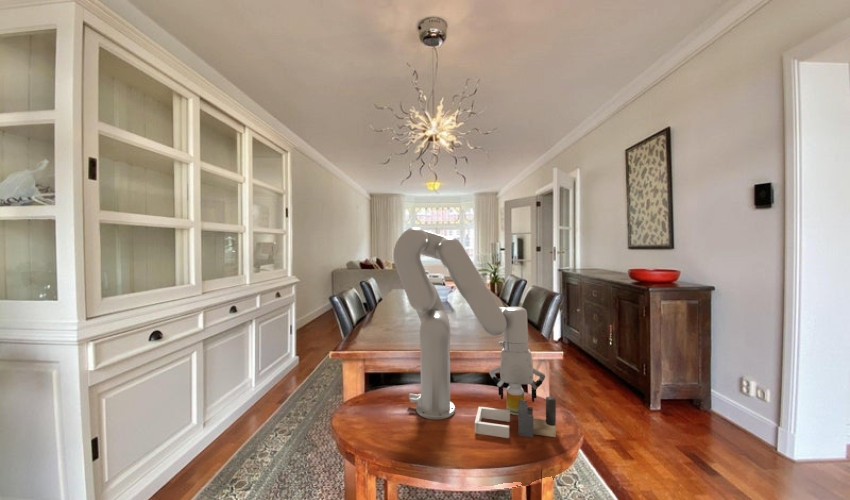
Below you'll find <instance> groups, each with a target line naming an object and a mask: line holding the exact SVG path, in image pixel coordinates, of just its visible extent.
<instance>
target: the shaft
mask: <svg viewBox="0 0 850 500" xmlns="http://www.w3.org/2000/svg"><path fill="white" fill-rule="evenodd" d="M556 400H557V399H556V398H555V397H553V396H546V397H545V419H543V418H534V417H533V435H535V436H536V435H537V436H544V437H550V438H556V437H557V433H556V432H557V426H556V425H557V420H556V419H557V413H556V412H557V411H556V410H557V407H556V406H557V405H556V404H557V402H556Z"/></svg>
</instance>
